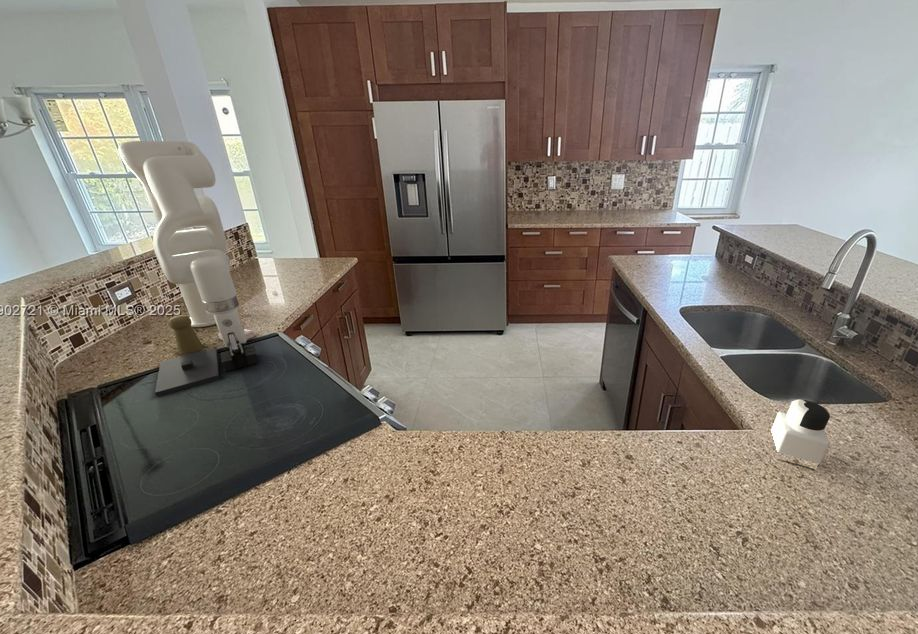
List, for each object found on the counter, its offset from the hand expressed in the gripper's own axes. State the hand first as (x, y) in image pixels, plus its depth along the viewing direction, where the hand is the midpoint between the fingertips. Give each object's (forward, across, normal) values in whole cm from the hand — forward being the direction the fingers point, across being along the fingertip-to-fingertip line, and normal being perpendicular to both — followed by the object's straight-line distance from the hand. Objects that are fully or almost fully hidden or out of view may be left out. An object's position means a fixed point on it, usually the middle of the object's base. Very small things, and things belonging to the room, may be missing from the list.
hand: (240, 360), depth 106 cm
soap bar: (+2, +19, 0) cm, 19 cm away
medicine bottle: (0, -107, -89) cm, 139 cm away
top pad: (+1, 0, 0) cm, 1 cm away
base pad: (+1, +4, +12) cm, 12 cm away
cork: (+2, +19, +12) cm, 22 cm away
